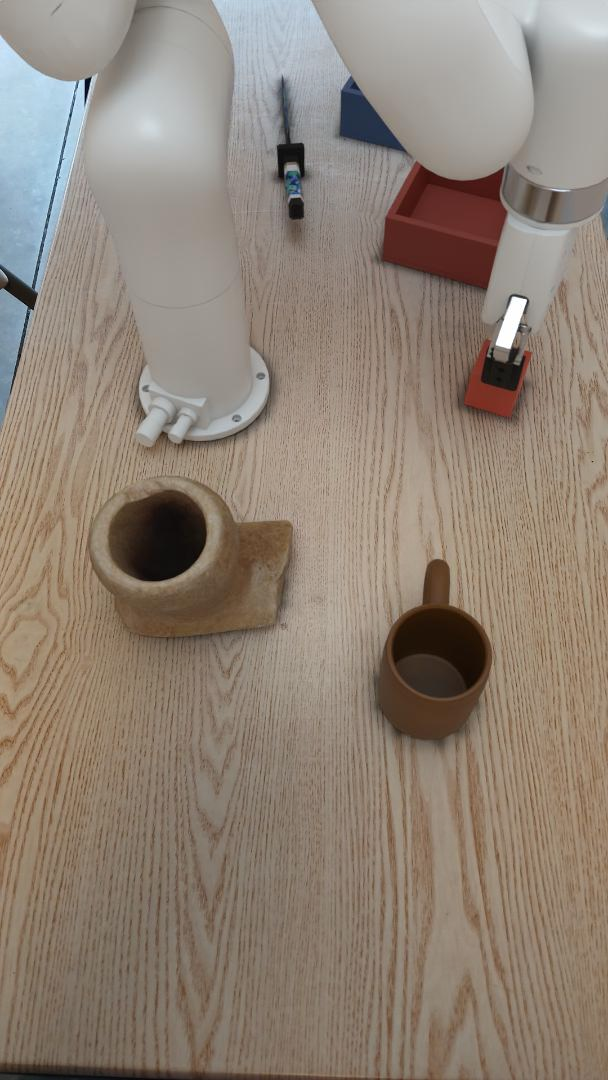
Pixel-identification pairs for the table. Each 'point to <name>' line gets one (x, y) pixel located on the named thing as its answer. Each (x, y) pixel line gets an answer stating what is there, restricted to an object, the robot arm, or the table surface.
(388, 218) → the red bin
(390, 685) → the mug
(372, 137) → the blue bin
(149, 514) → the stone cup
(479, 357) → the red block
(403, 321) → the table surface
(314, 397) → the table surface
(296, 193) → the knife
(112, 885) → the table surface
